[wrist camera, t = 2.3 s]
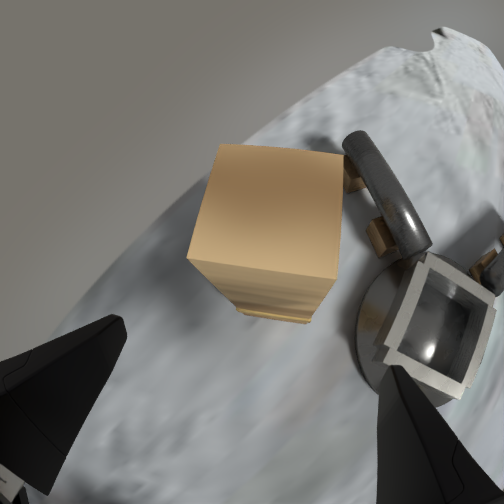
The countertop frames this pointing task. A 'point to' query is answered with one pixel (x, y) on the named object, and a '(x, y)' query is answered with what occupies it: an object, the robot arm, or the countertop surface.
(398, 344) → the grey round socket base
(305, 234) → the block
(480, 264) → the shaft
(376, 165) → the shaft
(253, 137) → the countertop surface
